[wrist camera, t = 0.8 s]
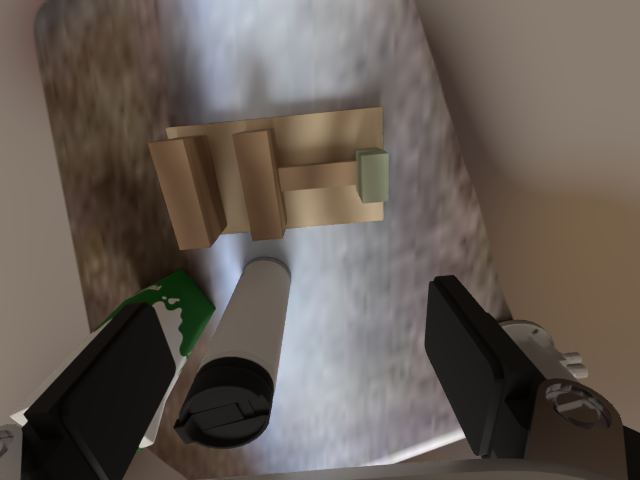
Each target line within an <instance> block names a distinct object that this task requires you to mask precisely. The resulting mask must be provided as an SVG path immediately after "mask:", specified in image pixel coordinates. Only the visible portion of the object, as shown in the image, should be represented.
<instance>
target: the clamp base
mask: <svg viewBox="0 0 640 480" xmlns="http://www.w3.org/2000/svg"><path fill="white" fill-rule="evenodd" d="M271 128H274V131H275V138H276V145H277V152H278V159H279V166H288V165H298V164H309V163H320V162H330V161H341V160H352V159H355V149H364V148H374V147H378V148H380V149H382V150H383V107H374V108H364V109H354V110H344V111H334V112H323V113H313V114H303V115H293V116H282V117H272V118H262V119H252V120H241V121H231V122H221V123H211V124H200V125H190V126H180V127H170V128H166V132H167V136H168V139H166V140H161V141H155V142H150V143H148V146H149V149H150V152H151V156H152V159H153V162H154V166H155V169H156V172H157V176H158V179H159V182H160V185H161V189H162V192H163V195H164V199H165V202H166V205H167V209H168V212H169V215H170V219H171V222H172V225H173V229H174V232H175V235H176V239H177V242H178V245H179V248H180V250H187V249H198V248H209V247H211V246H212V245H213V243H214V242H215V241H216V240H217V238H218V237H219V236H220V235H222V234H233V233H244V232H251V230H250V225H249V219H248V214H247V209H246V204H245V199H244V194H243V189H242V183H241V178H240V173H239V168H238V163H237V158H236V152H235V147H234V142H233V137H232V134H235V133H239V132H243V131H250V130H260V129H271ZM283 195H284V202H285V209H286V216H287V224H286V228H285V229H289V228H300V227H312V226H323V225H334V224H345V223H357V222H368V221H379V220H383V202H375V203H364V204H363V203H362V201H361V199H360V197H359V195H358V193H357V191H356V185H349V186H338V187H327V188H316V189H305V190H294V191H283Z"/></svg>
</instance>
